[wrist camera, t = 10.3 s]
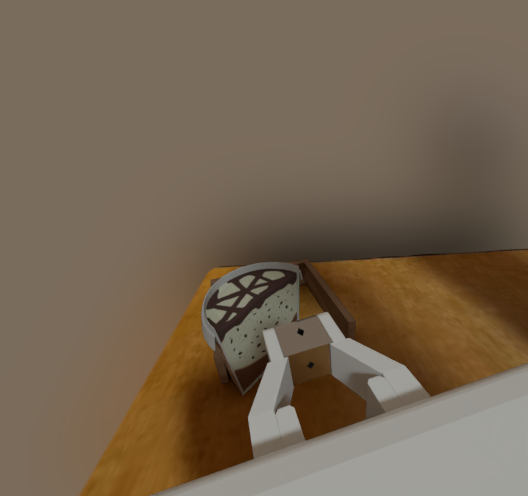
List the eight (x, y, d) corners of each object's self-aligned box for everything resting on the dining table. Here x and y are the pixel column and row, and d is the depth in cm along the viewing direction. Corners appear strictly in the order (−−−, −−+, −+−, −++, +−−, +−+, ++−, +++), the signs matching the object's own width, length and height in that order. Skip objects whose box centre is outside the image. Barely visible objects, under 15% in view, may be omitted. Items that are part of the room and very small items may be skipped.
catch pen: (308, 279, 41) (306, 258, 40) (354, 346, 29) (355, 320, 27) (216, 300, 39) (210, 279, 38) (222, 383, 27) (213, 358, 25)
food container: (270, 311, 36) (261, 249, 31) (306, 330, 32) (301, 263, 27) (197, 371, 28) (171, 303, 24) (231, 407, 24) (208, 333, 20)
